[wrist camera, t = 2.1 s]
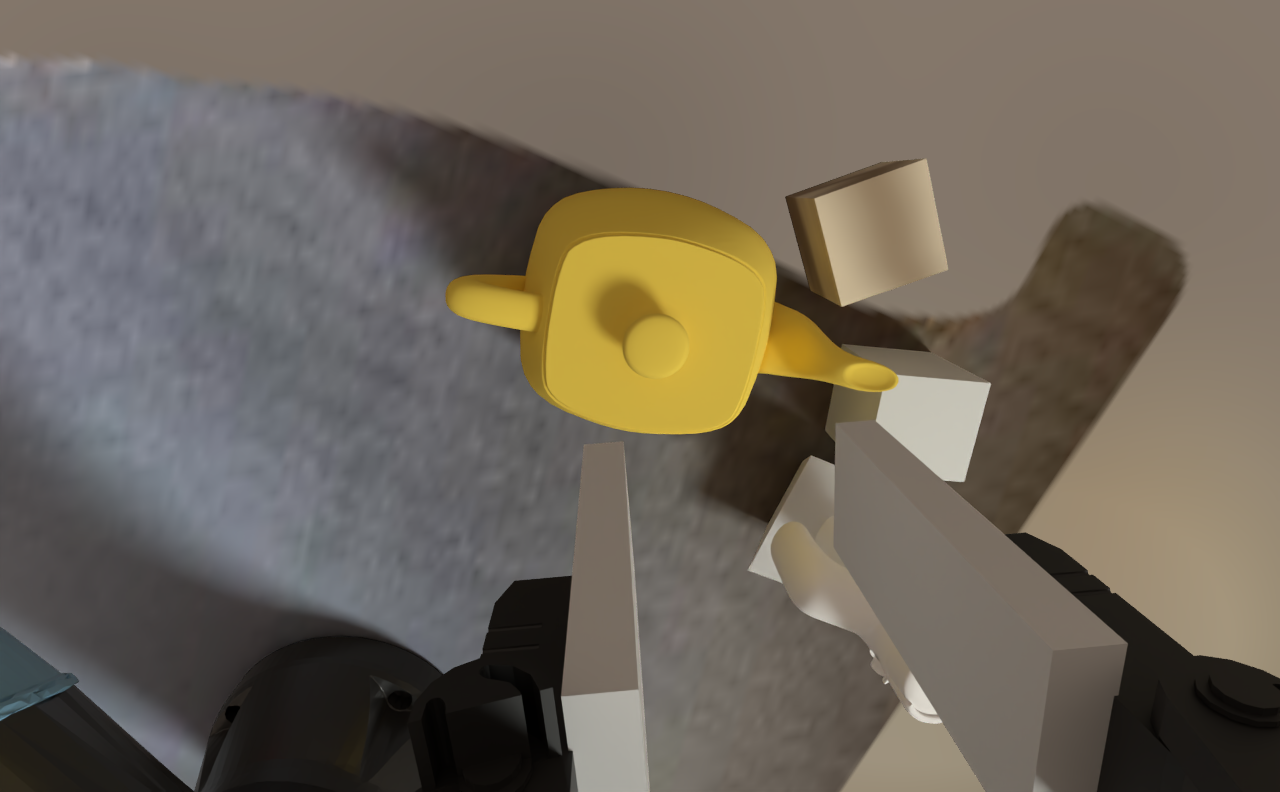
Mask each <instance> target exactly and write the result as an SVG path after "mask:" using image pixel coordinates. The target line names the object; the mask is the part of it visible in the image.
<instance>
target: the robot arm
mask: <svg viewBox="0 0 1280 792" xmlns="http://www.w3.org/2000/svg"><path fill="white" fill-rule="evenodd" d="M833 547H834V549H835V550H836V552H837V554H838V555H839V557H840V558H841V560H842V562H843V563H844V565H845V567H846V568H847V570H848V571H849V573H850V575H851V576H852V578H853V579H854V581H855V583H856V584H857V586H858V587H859V589H860V591H861V592H862V594H863V595H864V597H865V599H866V600H867V602H868V603H869V605H870V607H871V608H872V610H873V611H874V613H875V615H876V616H877V618H878V620H879V621H880V623H881V624H882V626H883V628H884V629H885V631H886V632H887V634H888V636H889V637H890V639H891V640H892V642H893V644H894V645H895V647H896V648H897V650H898V652H899V653H900V655H901V656H902V658H903V660H904V661H905V663H906V664H907V666H908V668H909V669H910V671H911V673H912V674H913V676H914V677H915V679H916V681H917V682H918V684H919V685H920V687H921V689H922V690H923V692H924V693H925V695H926V697H927V698H928V700H929V701H930V703H931V705H932V706H933V708H934V709H935V711H936V713H937V714H938V716H939V717H940V719H941V721H942V722H943V724H944V725H945V727H946V729H947V730H948V732H949V734H950V735H951V737H952V738H953V740H954V742H955V743H956V745H957V746H958V748H959V750H960V751H961V753H962V754H963V756H964V758H965V759H966V761H967V762H968V764H969V766H970V767H971V769H972V770H973V772H974V774H975V775H976V777H977V778H978V780H979V782H980V783H981V785H982V787H983V788H984V790H985V791H986V792H1280V679H1279V678H1277V677H1275V676H1273V675H1271V674H1269V673H1267V672H1265V671H1263V670H1260V669H1257V668H1254V667H1251V666H1248V665H1245V664H1241V663H1239V662H1235V661H1232V660H1228V659H1221V658H1214V657H1208V656H1201V655H1199V656H1193V655H1192V654H1191V653H1189V652H1188V651H1187V650H1186V649H1185V648H1183V647H1182V646H1181V645H1180V644H1178V643H1177V642H1176V641H1175V640H1173V639H1172V638H1171V637H1170V636H1169V635H1167V634H1166V633H1165V632H1164V631H1162V630H1161V629H1160V628H1159V627H1157V626H1156V625H1155V624H1154V623H1152V622H1151V621H1150V620H1149V619H1147V618H1146V617H1145V616H1144V615H1142V614H1141V613H1140V612H1139V611H1137V610H1136V609H1135V608H1134V607H1132V606H1131V605H1130V604H1129V603H1127V602H1126V601H1125V600H1124V599H1123V598H1121V597H1120V596H1119V595H1117V594H1116V593H1111V592H1110V588H1109V587H1108V586H1106V585H1105V584H1104V583H1103V582H1101V581H1100V580H1099V579H1097V578H1096V577H1095V576H1094V575H1089V574H1088V571H1087V570H1086V569H1085V568H1084V567H1083V566H1081V565H1080V564H1079V563H1078V562H1077V561H1075V560H1074V559H1073V558H1072V557H1070V556H1069V555H1068V554H1067V553H1065V552H1064V551H1063V550H1061V549H1060V548H1057V547H1055V546H1053V545H1051V544H1049V543H1047V542H1045V541H1043V540H1040V539H1038V538H1036V537H1034V536H1032V535H1030V534H1028V533H1016V534H1005V535H1004V534H1003V533H1002V532H1001V531H1000V530H999V529H997V528H996V527H995V526H994V525H993V524H992V523H991V522H990V521H988V520H987V519H986V518H985V517H984V516H983V515H982V514H980V513H979V512H978V511H977V510H976V509H975V508H974V507H973V506H971V505H970V504H969V503H968V502H967V501H966V500H965V499H963V498H962V497H961V496H960V495H959V494H958V493H957V492H956V491H954V490H953V489H952V488H951V487H950V486H949V485H948V484H946V483H945V482H944V481H943V480H942V479H941V478H940V477H939V476H937V475H936V474H935V473H934V472H933V471H932V470H931V469H929V468H928V467H927V466H926V465H925V464H924V463H923V462H922V461H920V460H919V459H918V458H917V457H916V456H915V455H914V454H912V453H911V452H910V451H909V450H908V449H907V448H906V447H905V446H903V445H902V444H901V443H900V442H899V441H898V440H897V439H895V438H894V437H893V436H892V435H891V434H890V433H889V432H888V431H886V430H885V429H884V428H883V427H882V426H881V425H880V424H878V423H877V422H876V421H875V420H868V421H856V422H844V423H836V435H835V487H834V540H833ZM488 630H489V631H488V633H487V635H486V638H485V642H484V646H483V654H481V657H480V659H477V660H474V661H471V662H468V663H466V664H463V665H460V666H457V667H454V668H453V669H451V670H450V671H448V672H447V673H445V674H444V675H441V674H440V673H439V672H438V671H437V670H436V669H434V668H433V667H432V666H431V665H429V664H428V663H426V662H425V661H423V660H422V659H420V658H418V657H417V656H415V655H413V654H411V653H409V652H407V651H405V650H403V649H400V648H398V647H395V646H392V645H389V644H386V643H383V642H379V641H375V640H370V639H365V638H357V637H323V638H315V639H310V640H305V641H301V642H298V643H295V644H292V645H289V646H286V647H284V648H282V649H280V650H278V651H276V652H274V653H272V654H270V655H269V656H267V657H265V658H264V659H263V660H261V661H260V662H259V663H257V664H256V665H255V666H254V667H253V668H252V669H251V670H250V671H249V672H248V673H247V674H246V675H245V677H244V678H243V679H242V680H241V682H240V683H239V684H238V686H237V687H236V689H235V690H234V691H233V693H232V694H231V695H230V697H229V698H228V699H227V701H226V702H225V704H224V705H223V707H222V708H221V710H220V712H219V714H218V716H217V718H216V720H215V722H214V725H213V727H212V731H211V734H210V737H209V741H208V744H207V748H206V751H205V755H204V758H203V762H202V766H201V769H200V773H199V776H198V780H197V783H196V787H195V790H194V791H193V790H192V789H191V788H189V787H188V786H187V785H186V784H185V783H183V782H182V781H181V780H180V779H179V778H178V777H176V776H175V775H174V774H173V773H172V772H171V771H169V770H168V769H167V768H166V767H165V766H164V765H163V764H162V763H161V762H159V761H158V760H157V759H156V758H155V757H154V756H153V755H152V754H151V753H149V752H148V751H147V750H146V749H145V748H144V747H143V746H142V745H141V744H139V743H138V742H137V741H136V740H135V739H134V738H133V737H132V736H131V735H129V734H128V733H127V732H126V731H125V730H124V729H123V728H122V727H120V726H119V725H118V724H117V723H116V722H115V721H114V720H113V719H112V718H110V717H109V716H108V715H107V714H106V713H105V712H104V711H103V710H102V709H100V708H99V707H98V706H97V705H96V704H95V703H94V702H93V701H92V700H90V699H89V698H88V697H87V696H86V695H85V694H84V693H83V692H82V691H80V690H79V689H78V688H77V687H76V686H75V685H74V684H76V683H78V682H79V680H78V679H77V678H76V677H75V676H74V675H73V674H72V673H60V672H59V671H58V670H56V669H55V668H54V667H53V666H51V665H50V664H49V663H47V662H46V661H45V660H43V659H42V658H41V657H40V656H38V655H37V654H36V653H34V652H33V651H32V650H30V649H29V648H28V647H27V646H25V645H24V644H23V643H21V642H20V641H19V640H18V639H16V638H15V637H14V636H12V635H11V634H10V633H8V632H7V631H6V630H4V629H3V628H1V627H0V792H650V786H649V772H648V758H647V743H646V729H645V714H644V700H643V686H642V671H641V657H640V643H639V628H638V614H637V599H636V585H635V571H634V558H633V547H632V535H631V524H630V512H629V501H628V489H627V478H626V466H625V455H624V443H623V441H622V442H610V443H599V444H587V445H584V450H583V461H582V472H581V483H580V494H579V506H578V517H577V528H576V539H575V550H574V561H573V572H572V576H564V577H553V578H542V579H531V580H519V581H514V582H513V583H512V584H511V585H510V587H509V588H508V589H507V590H506V591H505V592H504V593H503V595H502V596H501V597H500V598H499V599H498V600H497V601H496V602H495V605H494V609H493V612H492V616H491V620H490V623H489V627H488Z"/></svg>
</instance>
